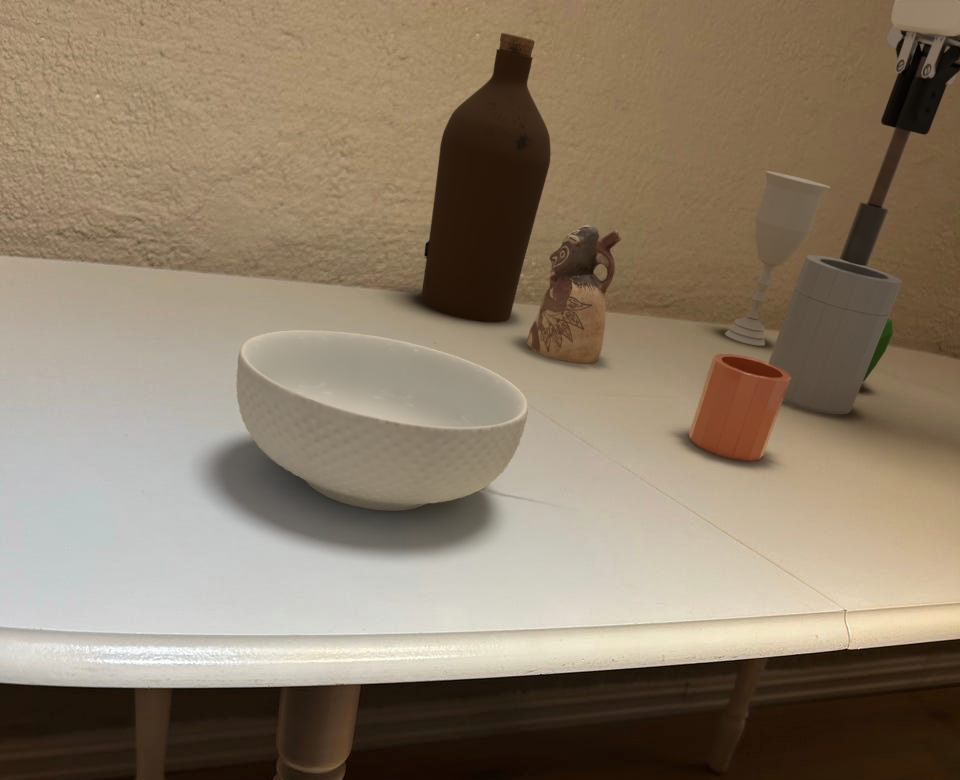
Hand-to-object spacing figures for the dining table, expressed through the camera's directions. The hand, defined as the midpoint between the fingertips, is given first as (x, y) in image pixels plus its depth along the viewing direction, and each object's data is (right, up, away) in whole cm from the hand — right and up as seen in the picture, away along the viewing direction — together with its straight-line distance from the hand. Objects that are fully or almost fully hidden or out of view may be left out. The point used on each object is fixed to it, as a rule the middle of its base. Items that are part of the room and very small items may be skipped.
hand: (904, 128), depth 92 cm
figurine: (-29, -18, +8) cm, 36 cm away
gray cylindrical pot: (-5, -21, +12) cm, 25 cm away
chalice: (-6, -10, +32) cm, 34 cm away
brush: (-2, -10, +6) cm, 12 cm away
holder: (-18, -30, -8) cm, 35 cm away
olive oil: (-39, -11, +16) cm, 44 cm away
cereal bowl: (-44, -36, -28) cm, 63 cm away
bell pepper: (+2, -17, +23) cm, 29 cm away
